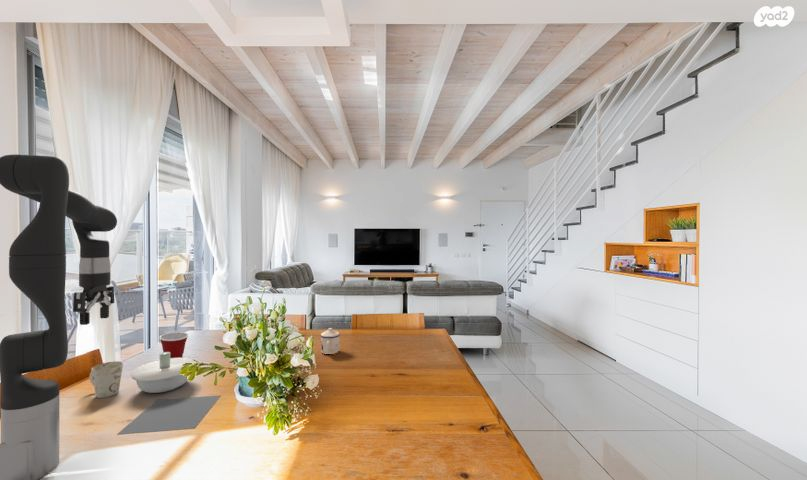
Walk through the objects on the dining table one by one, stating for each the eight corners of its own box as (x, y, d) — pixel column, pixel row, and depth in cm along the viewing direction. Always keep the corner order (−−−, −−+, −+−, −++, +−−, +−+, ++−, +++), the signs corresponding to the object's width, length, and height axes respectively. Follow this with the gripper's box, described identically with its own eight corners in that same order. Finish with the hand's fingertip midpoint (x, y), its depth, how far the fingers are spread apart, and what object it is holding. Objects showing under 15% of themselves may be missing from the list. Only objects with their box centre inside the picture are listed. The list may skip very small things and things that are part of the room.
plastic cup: (174, 367, 141) (174, 339, 141) (152, 365, 143) (152, 338, 143) (194, 358, 152) (194, 332, 152) (173, 356, 154) (173, 330, 153)
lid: (180, 379, 114) (180, 361, 114) (117, 382, 111) (118, 364, 111) (204, 359, 133) (204, 344, 133) (151, 361, 130) (151, 346, 130)
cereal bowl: (146, 382, 127) (146, 363, 127) (196, 376, 133) (196, 358, 133) (127, 403, 111) (127, 382, 111) (185, 395, 117) (185, 375, 117)
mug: (104, 400, 113) (104, 371, 113) (75, 396, 115) (75, 368, 115) (129, 389, 121) (129, 362, 121) (101, 386, 123) (101, 359, 123)
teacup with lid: (322, 349, 166) (322, 325, 166) (340, 349, 167) (340, 325, 166) (317, 358, 154) (317, 332, 154) (337, 357, 155) (337, 332, 155)
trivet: (195, 430, 96) (195, 428, 96) (116, 436, 93) (116, 434, 93) (220, 397, 116) (220, 395, 116) (157, 401, 113) (157, 399, 113)
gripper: (91, 273, 102) (91, 326, 102) (122, 269, 116) (122, 315, 116) (63, 273, 101) (63, 327, 101) (98, 269, 115) (98, 316, 115)
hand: (95, 321), depth 109 cm, fingers open, 8 cm apart
